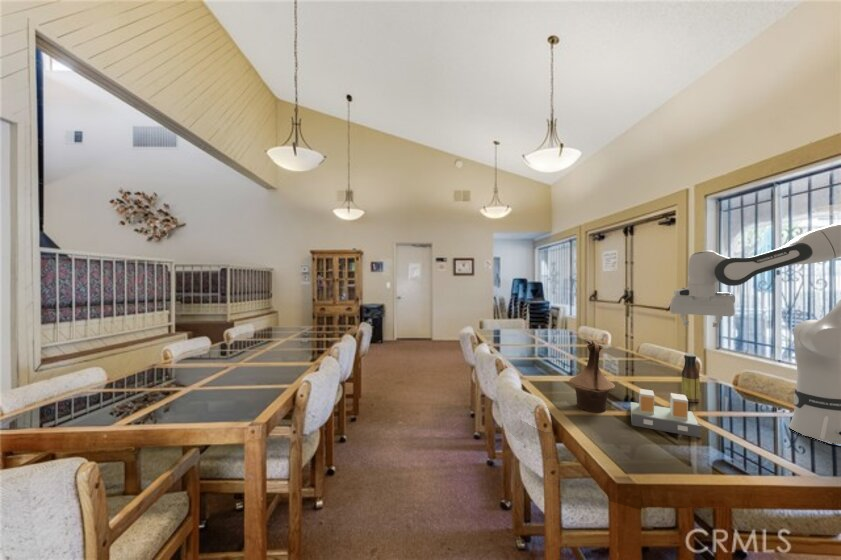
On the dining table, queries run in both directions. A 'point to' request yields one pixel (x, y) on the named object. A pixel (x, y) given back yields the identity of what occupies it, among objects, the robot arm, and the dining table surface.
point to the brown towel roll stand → (592, 382)
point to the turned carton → (679, 406)
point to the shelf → (665, 421)
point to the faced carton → (646, 401)
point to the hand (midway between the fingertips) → (700, 326)
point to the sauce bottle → (690, 379)
